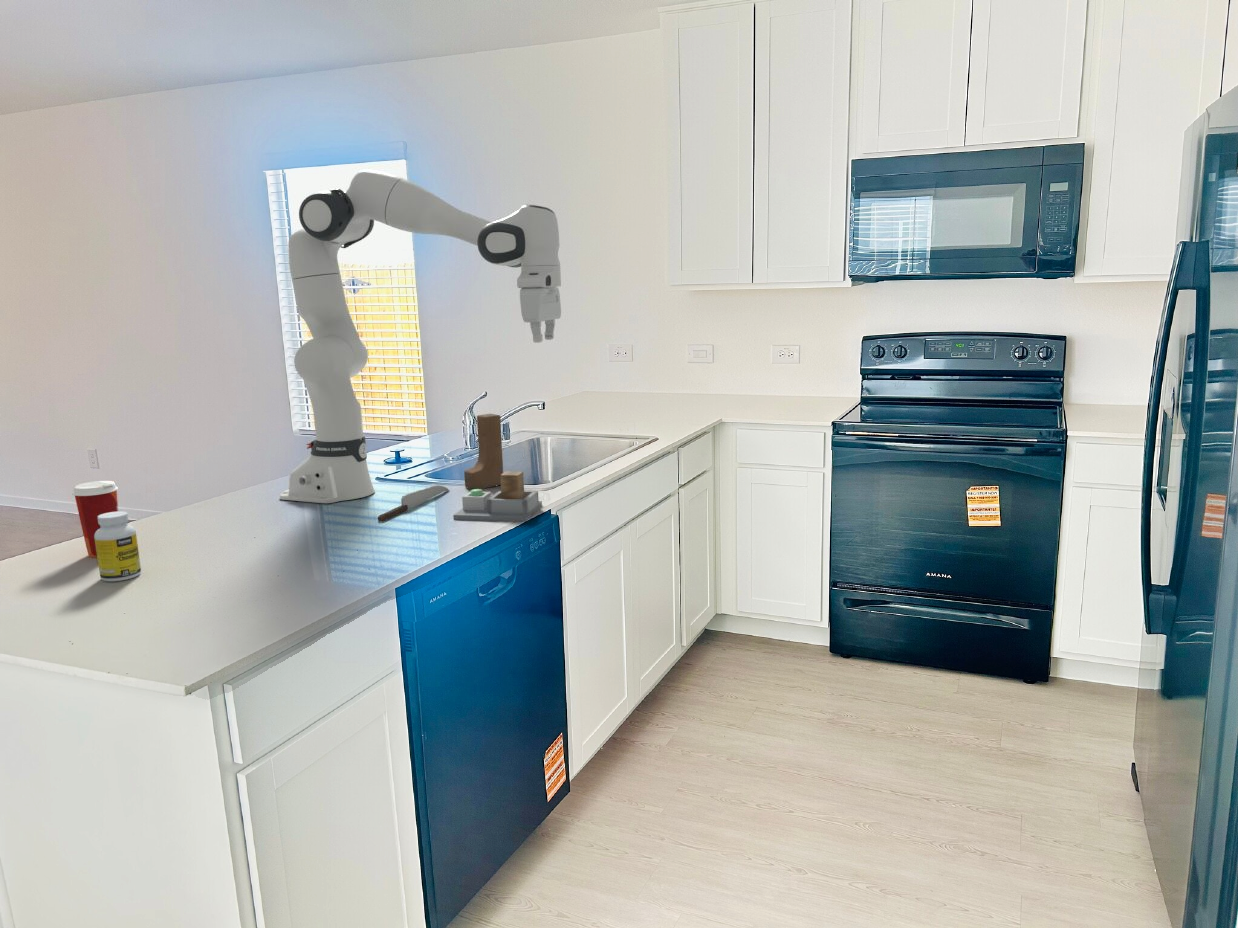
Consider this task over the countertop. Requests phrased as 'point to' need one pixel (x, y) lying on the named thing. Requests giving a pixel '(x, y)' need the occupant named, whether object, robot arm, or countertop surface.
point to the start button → (476, 492)
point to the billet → (512, 485)
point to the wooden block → (487, 454)
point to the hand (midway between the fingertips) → (543, 341)
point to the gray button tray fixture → (498, 507)
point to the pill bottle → (117, 547)
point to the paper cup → (94, 508)
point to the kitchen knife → (413, 501)
